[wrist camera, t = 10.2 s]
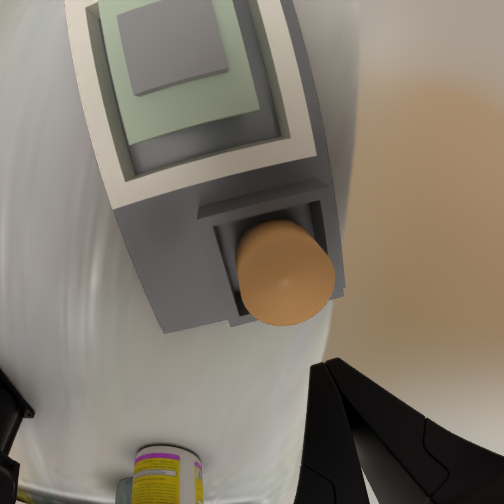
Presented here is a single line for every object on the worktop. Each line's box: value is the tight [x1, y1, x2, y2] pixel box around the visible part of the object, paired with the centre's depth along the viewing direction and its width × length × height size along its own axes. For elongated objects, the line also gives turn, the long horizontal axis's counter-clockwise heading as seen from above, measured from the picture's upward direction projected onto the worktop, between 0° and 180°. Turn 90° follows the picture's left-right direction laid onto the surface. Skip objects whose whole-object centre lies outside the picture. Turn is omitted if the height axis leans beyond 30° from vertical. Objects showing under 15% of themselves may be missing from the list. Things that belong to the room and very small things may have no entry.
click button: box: [235, 218, 335, 326], centre depth 14 cm, size 4×4×3 cm
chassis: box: [65, 0, 345, 334], centre depth 14 cm, size 20×12×3 cm, turn 13°
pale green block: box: [98, 0, 260, 145], centre depth 10 cm, size 6×4×6 cm
